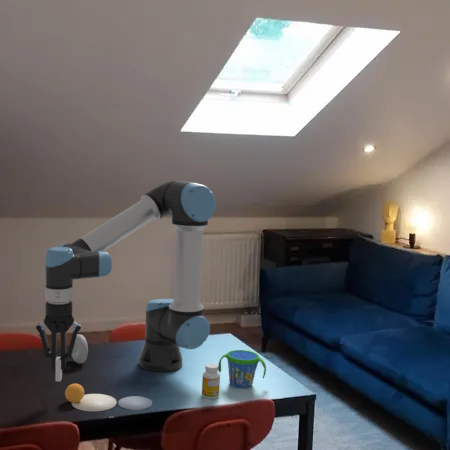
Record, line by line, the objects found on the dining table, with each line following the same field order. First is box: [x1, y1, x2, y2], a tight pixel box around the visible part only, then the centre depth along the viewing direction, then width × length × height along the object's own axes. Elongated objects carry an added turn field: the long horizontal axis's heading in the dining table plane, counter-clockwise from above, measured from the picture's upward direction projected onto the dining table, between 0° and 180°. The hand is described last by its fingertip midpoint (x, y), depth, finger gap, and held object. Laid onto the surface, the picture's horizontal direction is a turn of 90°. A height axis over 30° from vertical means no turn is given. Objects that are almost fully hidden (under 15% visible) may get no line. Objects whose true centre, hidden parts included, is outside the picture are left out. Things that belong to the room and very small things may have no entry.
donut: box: [71, 333, 89, 365], centre depth 236 cm, size 10×4×10 cm, turn 34°
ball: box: [64, 383, 85, 404], centre depth 202 cm, size 6×6×6 cm
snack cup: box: [217, 349, 267, 389], centre depth 224 cm, size 16×10×10 cm
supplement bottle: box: [201, 363, 221, 400], centre depth 213 cm, size 5×5×10 cm
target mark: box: [71, 393, 118, 412], centre depth 203 cm, size 13×13×1 cm
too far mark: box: [117, 395, 153, 411], centre depth 204 cm, size 10×10×1 cm
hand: (58, 379), depth 201 cm, fingers closed
